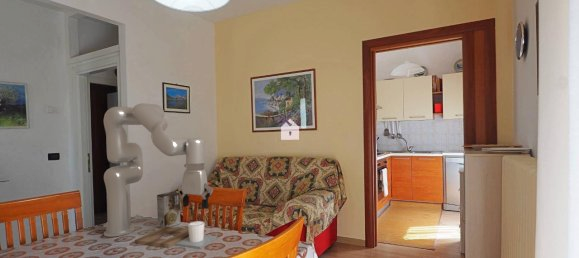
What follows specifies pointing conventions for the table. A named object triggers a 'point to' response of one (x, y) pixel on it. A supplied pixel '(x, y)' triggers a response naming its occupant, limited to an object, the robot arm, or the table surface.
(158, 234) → the pocket board
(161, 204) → the coffee box
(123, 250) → the table surface
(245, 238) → the table surface
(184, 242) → the ceramic tile
